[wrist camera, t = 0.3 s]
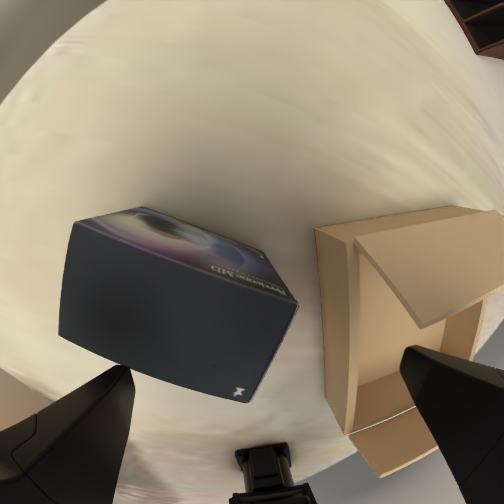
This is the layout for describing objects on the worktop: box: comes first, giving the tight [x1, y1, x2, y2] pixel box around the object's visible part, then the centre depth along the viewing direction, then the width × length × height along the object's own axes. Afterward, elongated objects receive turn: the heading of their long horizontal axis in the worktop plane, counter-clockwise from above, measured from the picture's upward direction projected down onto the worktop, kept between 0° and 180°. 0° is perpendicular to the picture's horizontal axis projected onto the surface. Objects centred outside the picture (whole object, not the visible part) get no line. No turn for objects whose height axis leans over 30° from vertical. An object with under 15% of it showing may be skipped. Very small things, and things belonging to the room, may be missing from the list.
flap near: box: [354, 210, 504, 330], centre depth 13 cm, size 7×15×1 cm
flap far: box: [349, 407, 439, 478], centre depth 17 cm, size 7×15×1 cm
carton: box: [314, 206, 487, 435], centre depth 21 cm, size 18×16×6 cm
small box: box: [58, 207, 299, 403], centre depth 16 cm, size 11×6×10 cm, turn 68°
